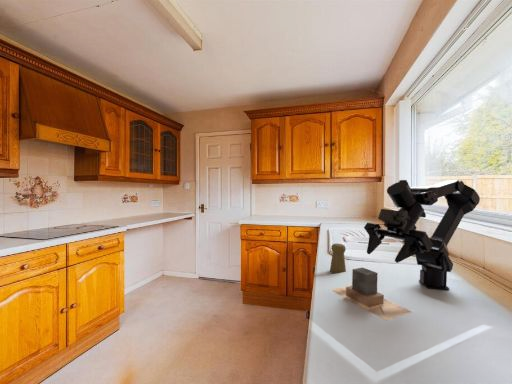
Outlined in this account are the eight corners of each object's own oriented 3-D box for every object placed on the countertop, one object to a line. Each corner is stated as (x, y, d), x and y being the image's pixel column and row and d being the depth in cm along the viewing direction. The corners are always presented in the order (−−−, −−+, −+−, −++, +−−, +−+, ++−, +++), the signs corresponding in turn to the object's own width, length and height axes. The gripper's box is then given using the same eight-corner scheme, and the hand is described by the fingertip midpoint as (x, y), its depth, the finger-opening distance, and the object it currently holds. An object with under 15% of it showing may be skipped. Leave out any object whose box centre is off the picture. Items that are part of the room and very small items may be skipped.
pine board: (330, 293, 77) (330, 289, 77) (354, 287, 81) (354, 284, 81) (386, 324, 60) (386, 320, 60) (412, 315, 64) (412, 311, 64)
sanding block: (345, 296, 72) (346, 267, 72) (359, 293, 74) (360, 265, 74) (369, 309, 65) (370, 277, 65) (383, 305, 67) (384, 274, 67)
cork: (343, 276, 92) (343, 246, 91) (327, 272, 95) (327, 244, 95) (348, 271, 96) (348, 243, 96) (332, 268, 100) (333, 241, 100)
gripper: (368, 198, 83) (342, 233, 78) (427, 201, 66) (399, 246, 61) (384, 220, 86) (360, 255, 82) (443, 229, 69) (418, 274, 65)
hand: (381, 257), depth 72 cm, fingers open, 9 cm apart
